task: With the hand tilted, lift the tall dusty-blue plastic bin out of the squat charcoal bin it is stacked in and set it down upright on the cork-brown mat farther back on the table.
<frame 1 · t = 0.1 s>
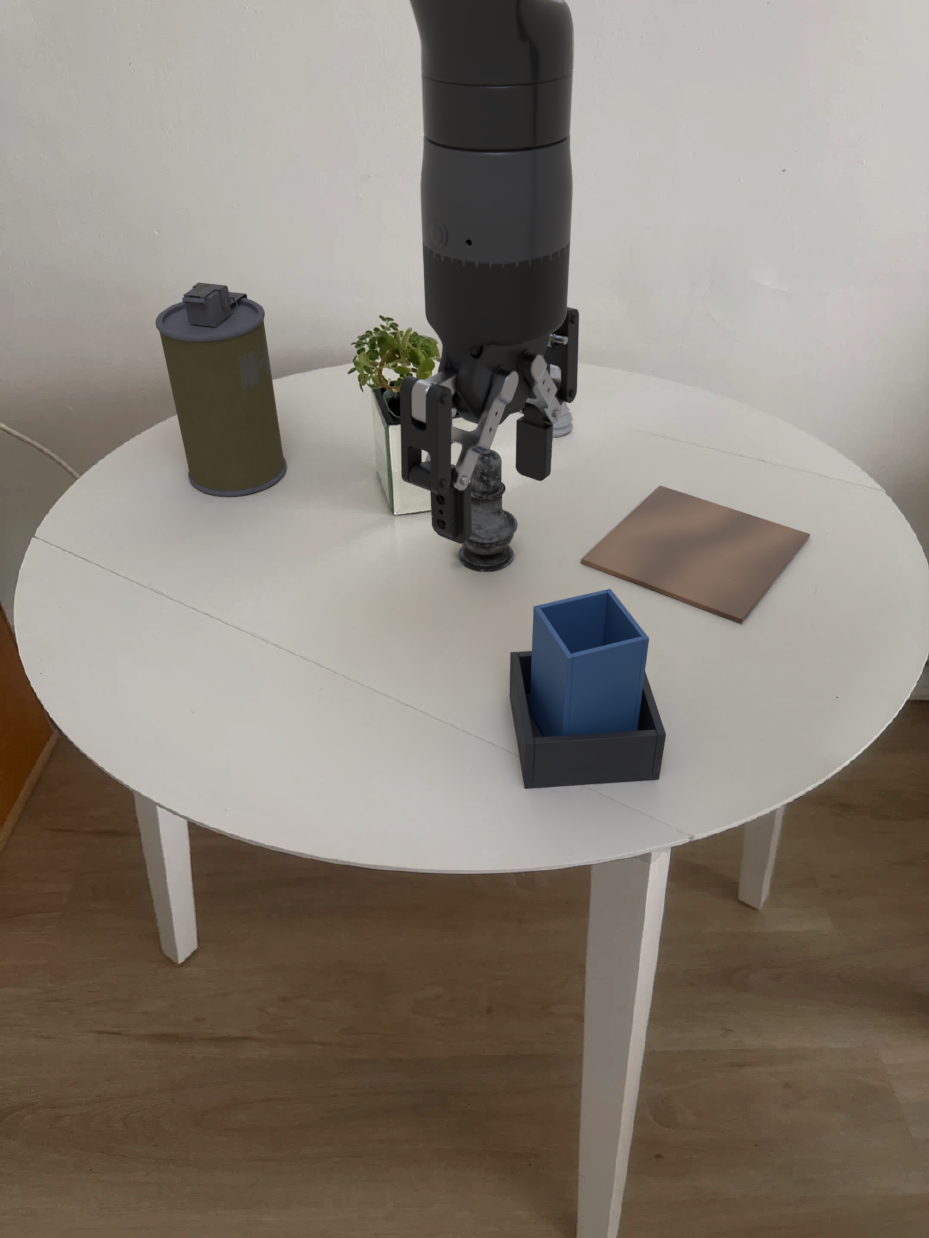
hand: (494, 504, 60), 22 cm above the table, tool pointing down, fingers open, 8 cm apart
canister: (239, 472, 108), on the table
blue bin: (581, 730, 75), point 1 cm above the table, touching black bin
dark grey tall piece: (485, 557, 94), on the table
black bin: (580, 735, 75), on the table
rook chess piece: (552, 430, 114), on the table
cork mat: (696, 550, 94), on the table
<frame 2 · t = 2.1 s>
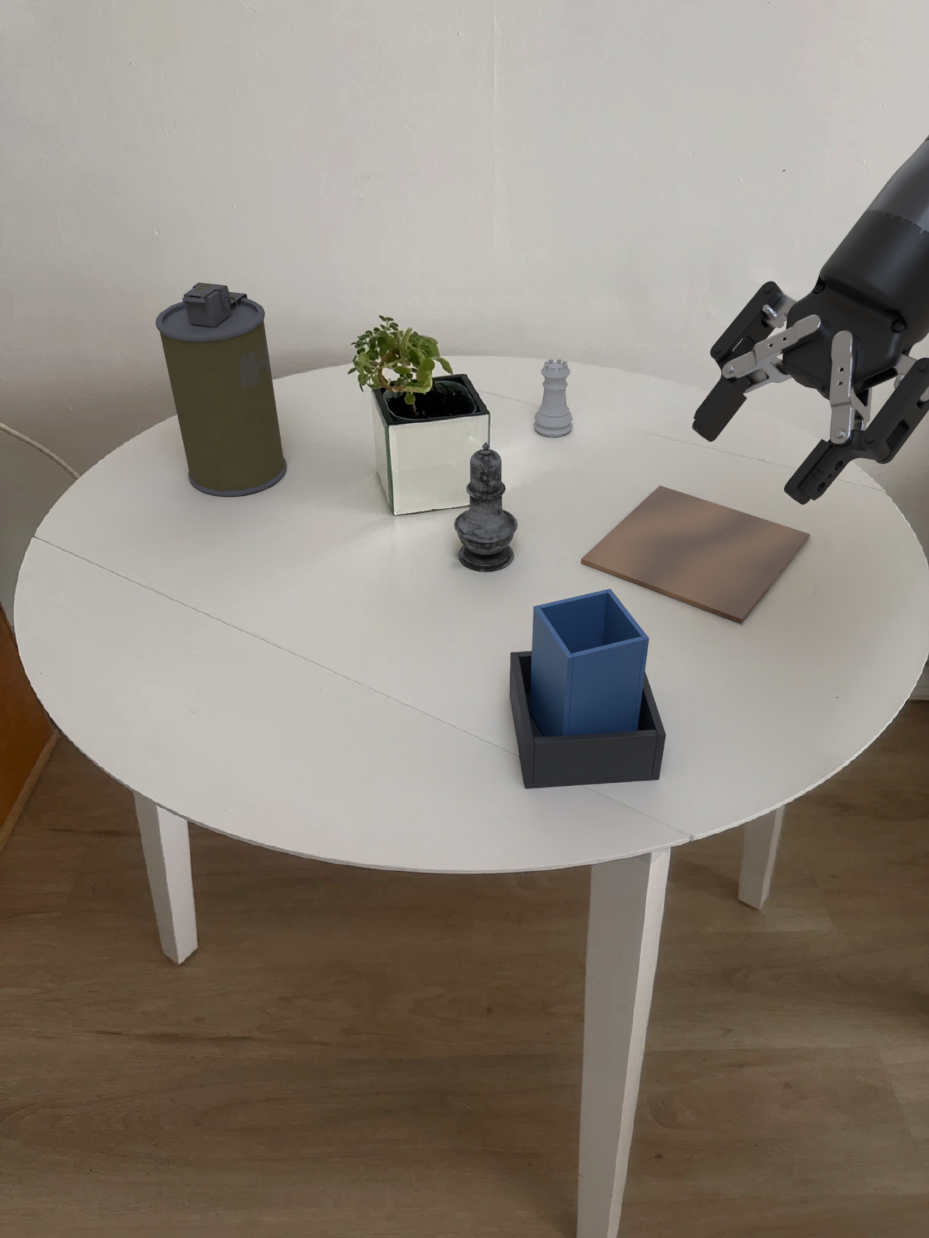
hand: (745, 465, 63), 22 cm above the table, tool tilted 40°, fingers open, 8 cm apart
nothing on the table moved.
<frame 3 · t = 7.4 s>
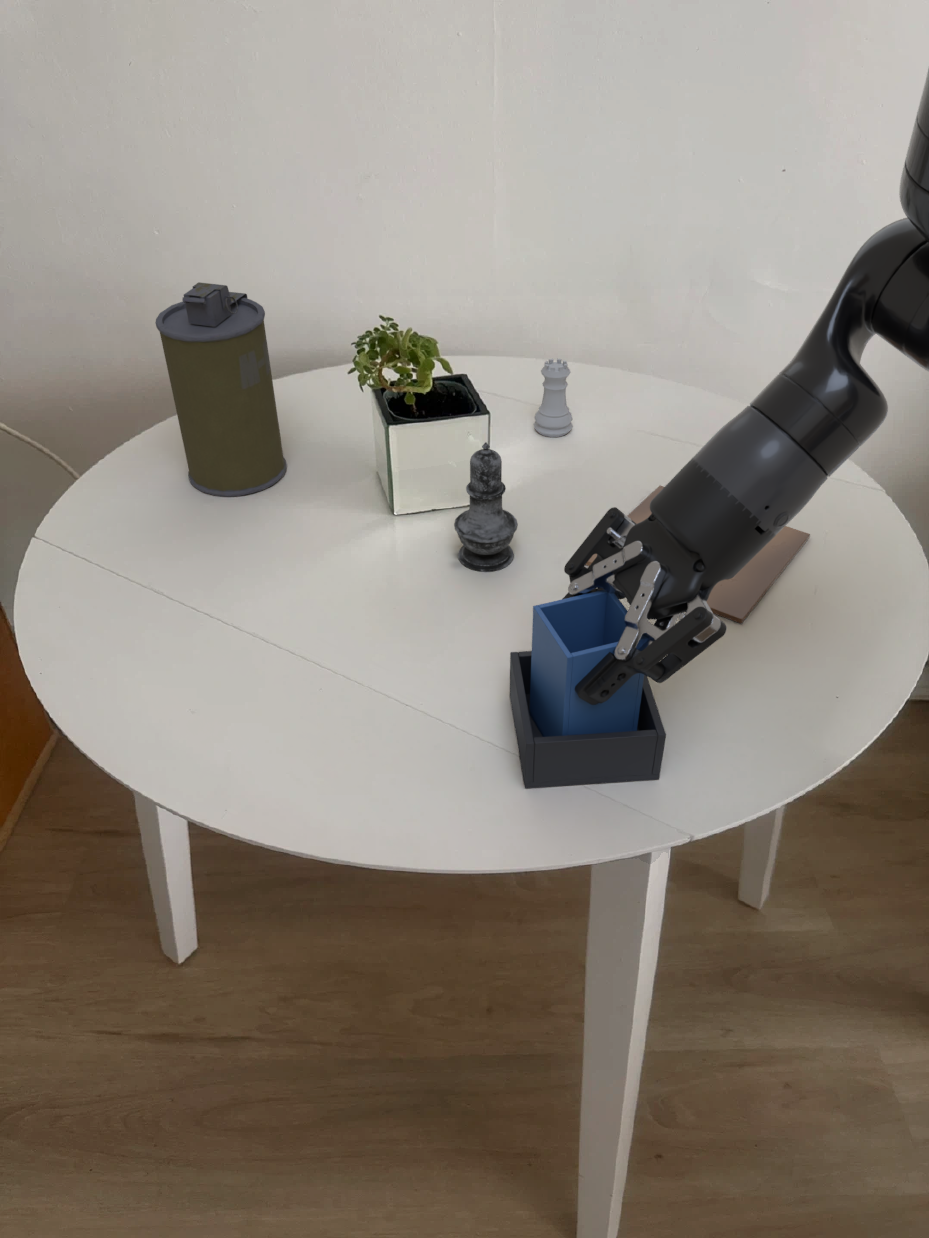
hand: (564, 667, 70), 7 cm above the table, tool tilted 45°, fingers closed on blue bin, 6 cm apart
blue bin: (581, 730, 75), point 1 cm above the table, touching black bin, gripper
everything else where it was.
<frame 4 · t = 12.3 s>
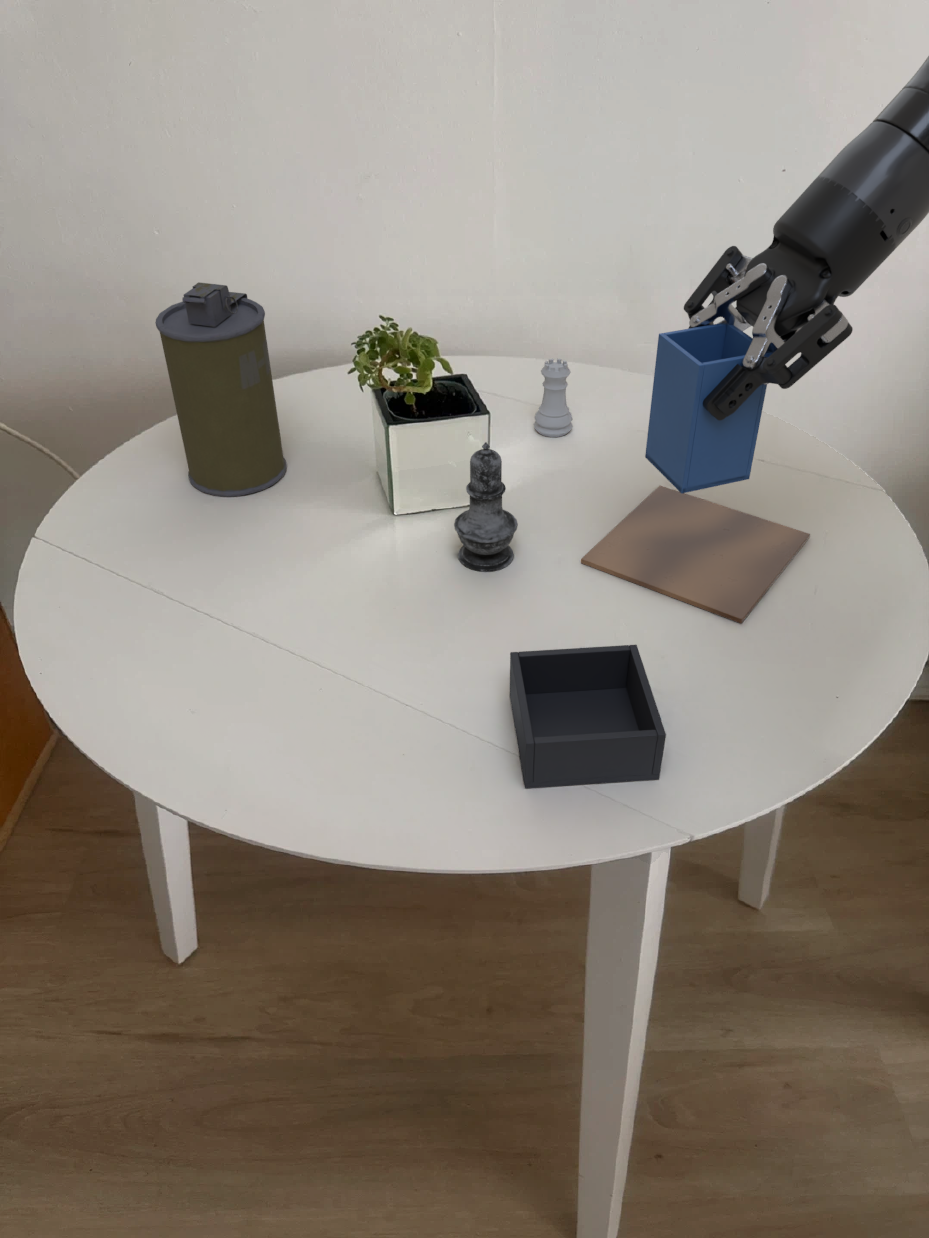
hand: (688, 393, 75), 21 cm above the table, tool tilted 45°, fingers closed on blue bin, 6 cm apart
blue bin: (696, 468, 79), point 14 cm above the table, touching gripper
everything else where it was.
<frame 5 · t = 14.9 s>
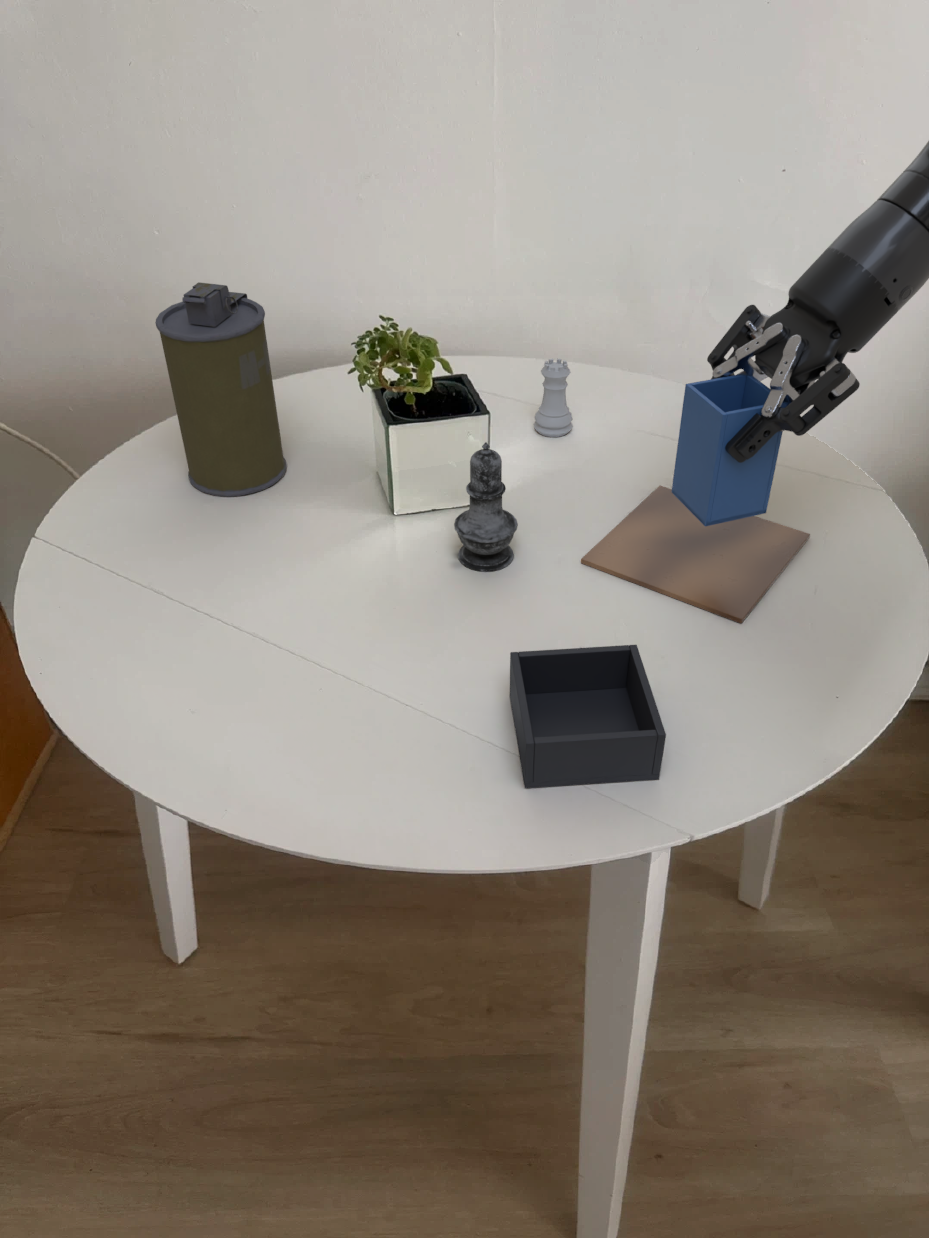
hand: (711, 437, 83), 14 cm above the table, tool tilted 45°, fingers closed on blue bin, 6 cm apart
blue bin: (717, 502, 88), point 7 cm above the table, touching gripper
everything else where it was.
when the fingers open (7 cm above the table, at t = 17.2 s): blue bin stays where it is, resting on cork mat.
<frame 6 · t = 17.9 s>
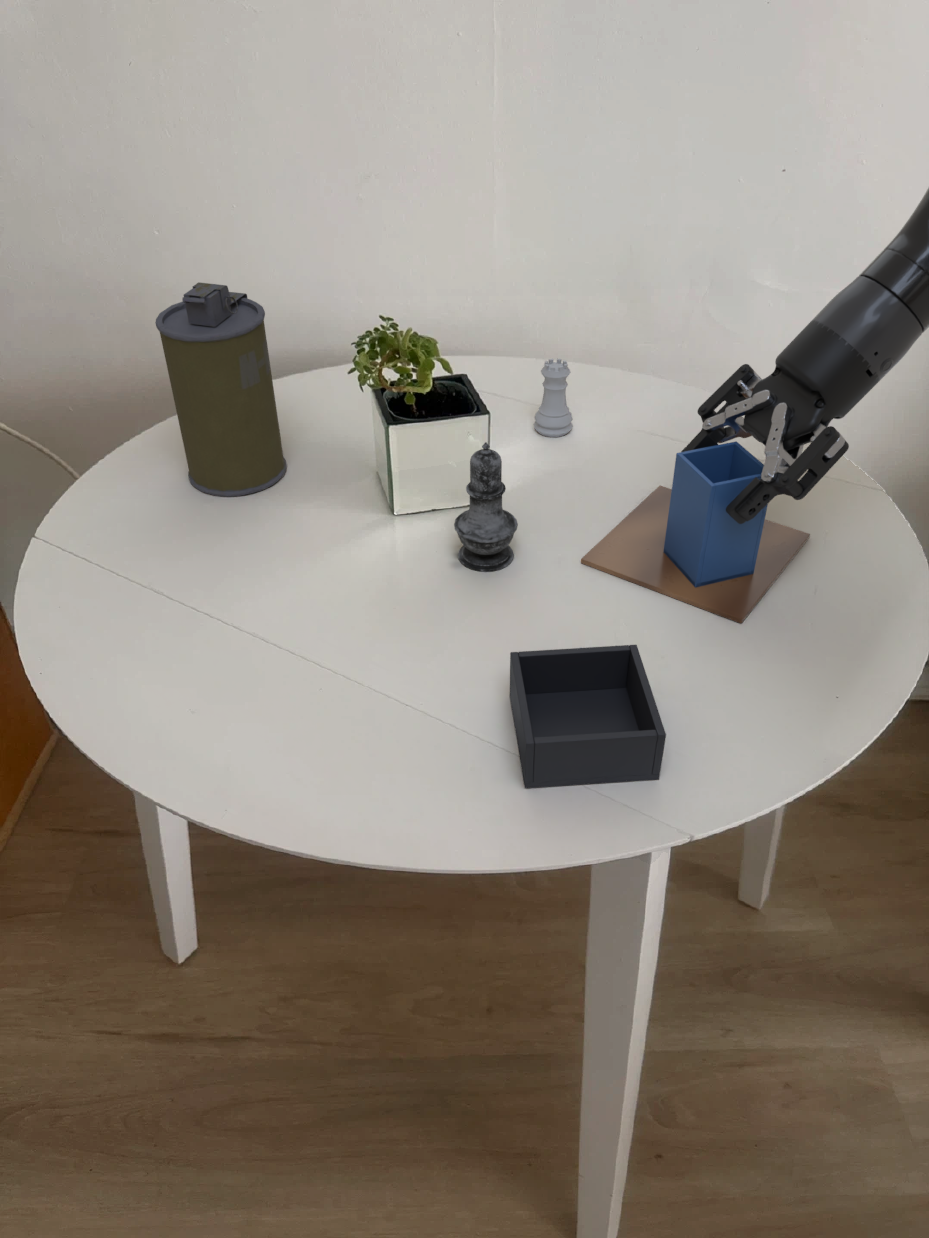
hand: (706, 493, 87), 8 cm above the table, tool tilted 45°, fingers open, 8 cm apart
blue bin: (707, 562, 92), resting on cork mat
everything else where it was.
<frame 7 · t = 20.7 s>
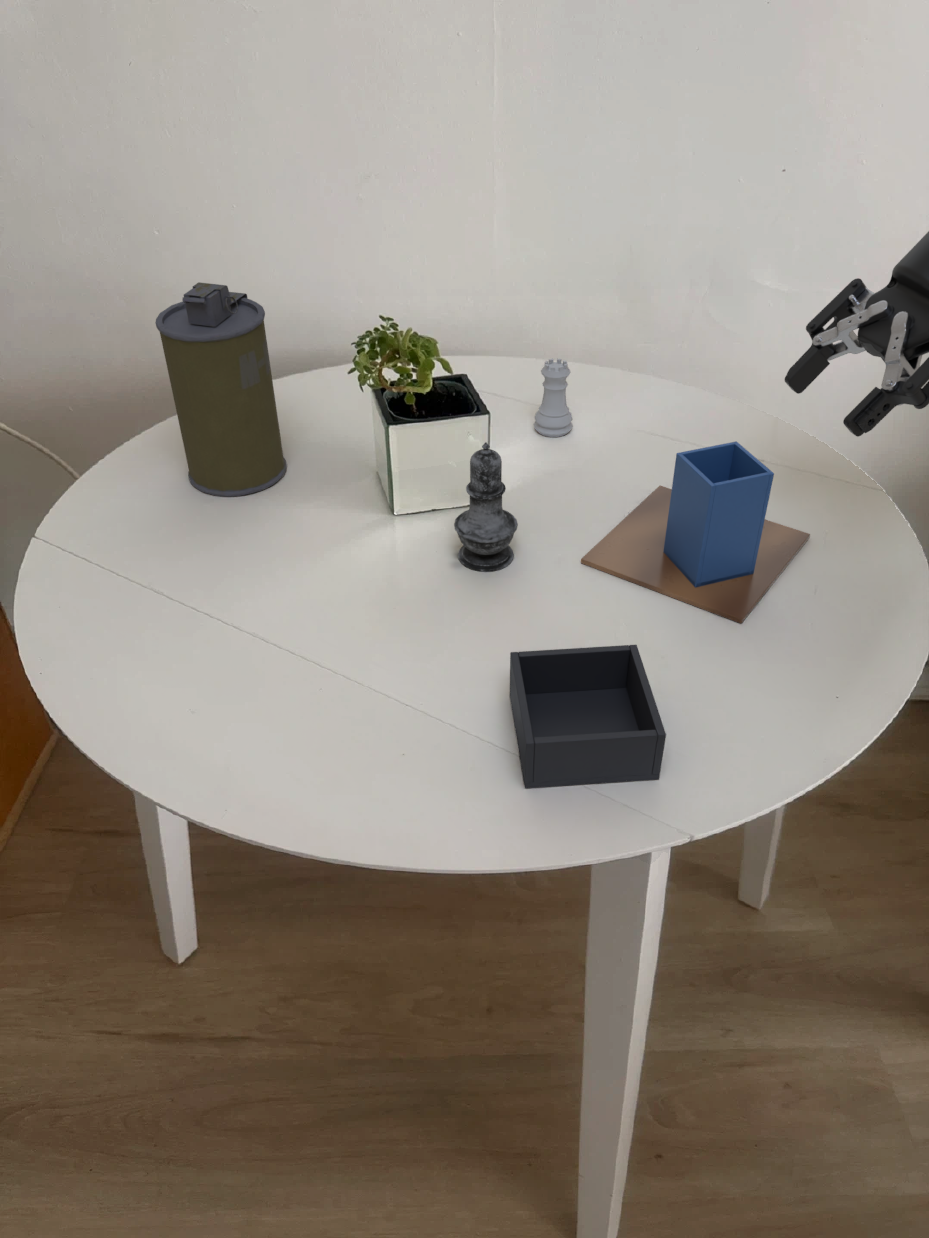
hand: (819, 408, 85), 15 cm above the table, tool tilted 45°, fingers open, 8 cm apart
nothing on the table moved.
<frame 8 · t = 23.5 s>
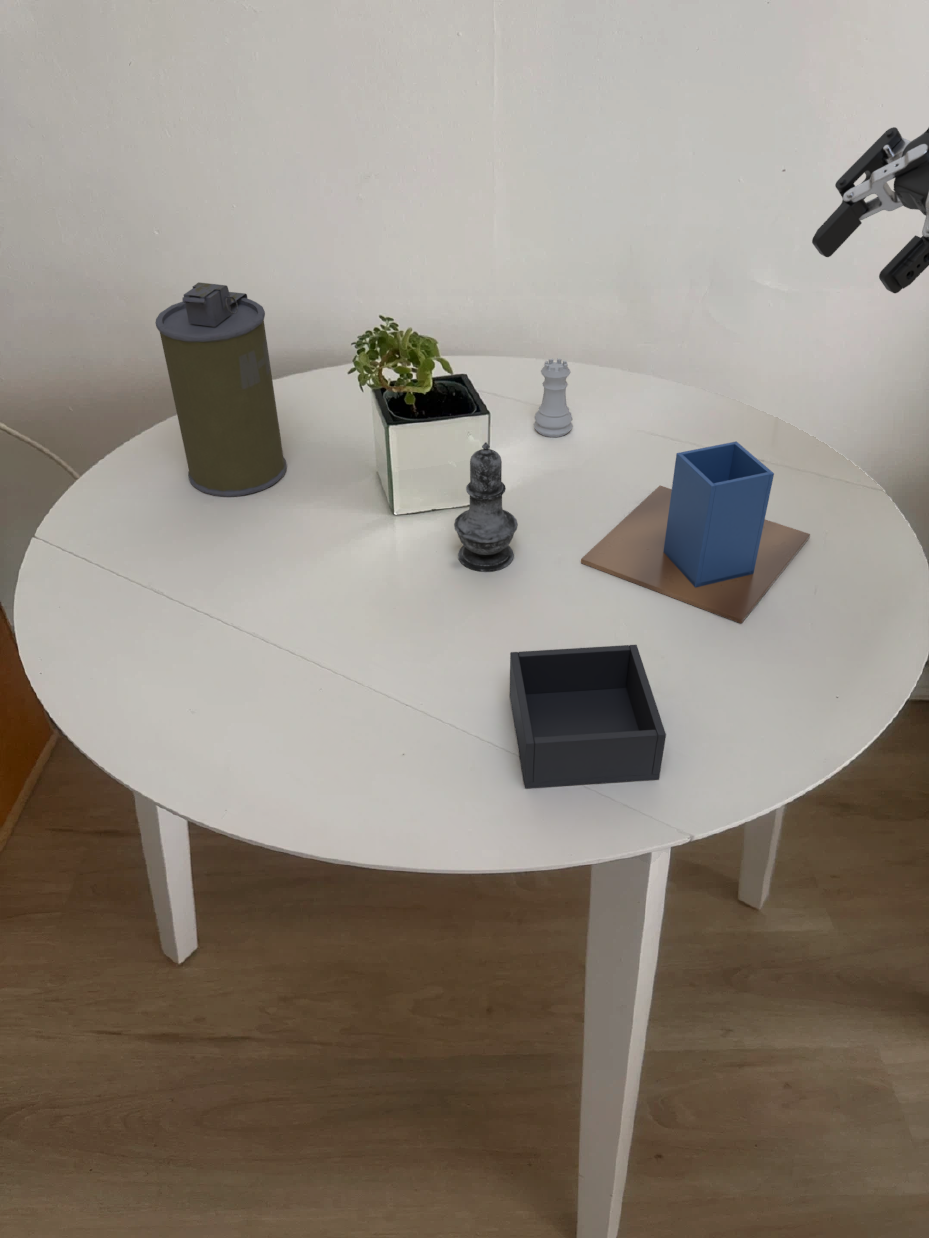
hand: (851, 267, 78), 27 cm above the table, tool tilted 45°, fingers open, 8 cm apart
nothing on the table moved.
at the end: blue bin inside the target area on the cork mat (2.8 cm from its centre), point 0.5 cm above the cork mat's base; blue bin tilted 0°; blue bin touching cork mat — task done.
